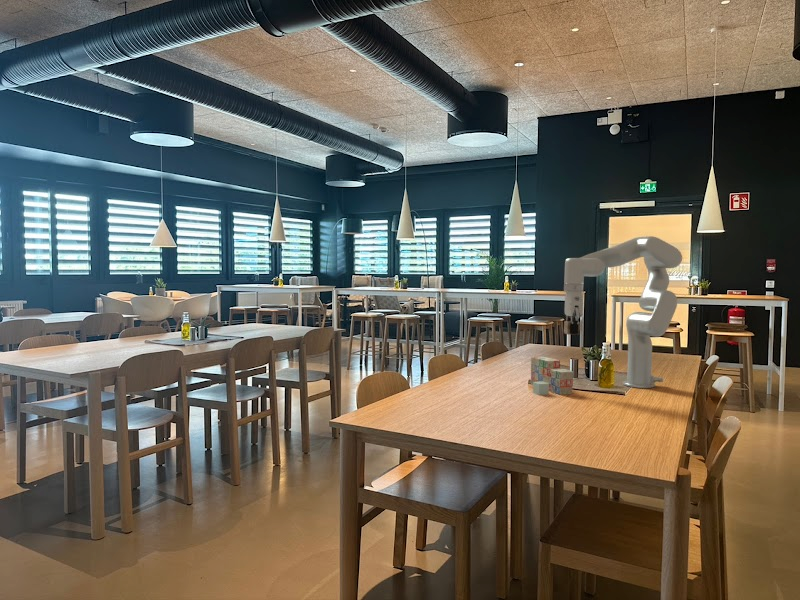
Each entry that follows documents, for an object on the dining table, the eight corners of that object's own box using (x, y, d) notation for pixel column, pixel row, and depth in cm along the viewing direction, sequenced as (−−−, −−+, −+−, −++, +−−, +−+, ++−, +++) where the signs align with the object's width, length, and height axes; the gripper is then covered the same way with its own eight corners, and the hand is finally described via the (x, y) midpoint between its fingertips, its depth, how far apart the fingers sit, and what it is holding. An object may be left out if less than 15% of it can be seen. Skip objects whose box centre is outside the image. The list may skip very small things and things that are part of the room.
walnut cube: (576, 333, 233) (576, 321, 232) (579, 334, 228) (580, 322, 227) (563, 333, 233) (564, 321, 232) (567, 334, 228) (567, 322, 227)
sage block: (542, 392, 228) (542, 381, 228) (548, 394, 224) (549, 383, 224) (532, 393, 227) (532, 381, 227) (538, 395, 223) (539, 384, 222)
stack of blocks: (573, 394, 225) (573, 363, 225) (559, 395, 223) (560, 364, 223) (542, 383, 246) (543, 355, 245) (530, 384, 243) (530, 356, 243)
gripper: (589, 289, 221) (587, 335, 222) (576, 288, 238) (574, 331, 239) (570, 288, 221) (568, 335, 222) (558, 287, 238) (556, 330, 239)
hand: (571, 332), depth 230 cm, fingers closed on walnut cube, 5 cm apart
